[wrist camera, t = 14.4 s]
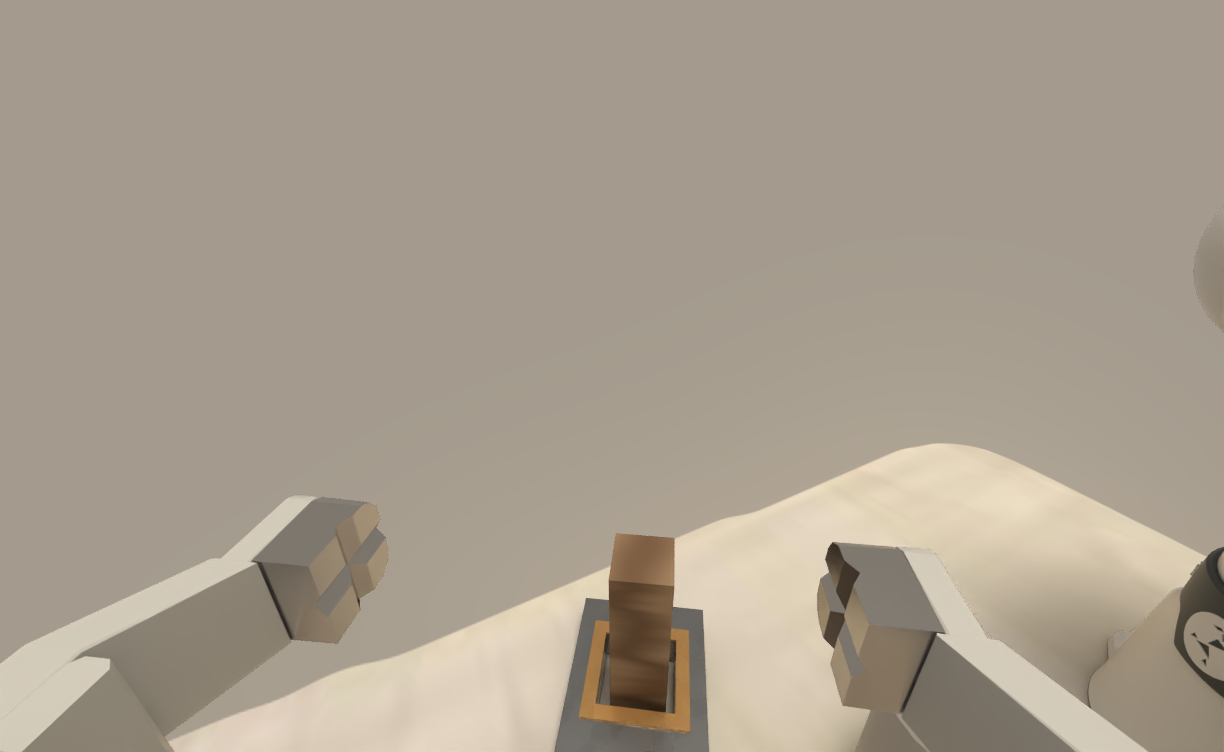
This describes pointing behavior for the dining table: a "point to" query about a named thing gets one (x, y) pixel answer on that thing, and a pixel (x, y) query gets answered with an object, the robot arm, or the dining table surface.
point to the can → (888, 735)
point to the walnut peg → (640, 620)
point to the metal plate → (626, 737)
